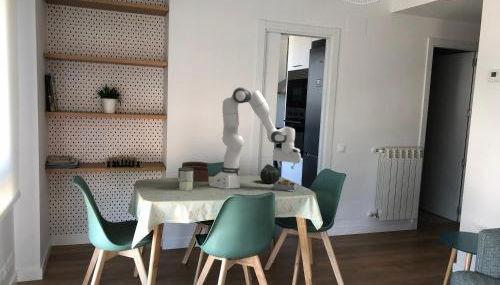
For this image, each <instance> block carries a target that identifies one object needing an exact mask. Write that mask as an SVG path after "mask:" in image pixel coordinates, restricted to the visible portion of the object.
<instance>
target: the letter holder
mask: <svg viewBox="0 0 500 285" xmlns="http://www.w3.org/2000/svg"><path fill="white" fill-rule="evenodd" d="M182 167H189V168H193V169H194V170H193V183H196V182H197V183H206V182H207V183H208V182H209V183H210V180H209V179H210V173H209V164H208V163H207V162H204V161H184V162H182V163H181V168H182Z"/></svg>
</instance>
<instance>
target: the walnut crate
mask: <svg viewBox="0 0 500 285" xmlns="http://www.w3.org/2000/svg"><path fill="white" fill-rule="evenodd" d="M280 181H281V185H288V186H290V182H291V180H289V179H282V180H280Z"/></svg>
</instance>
